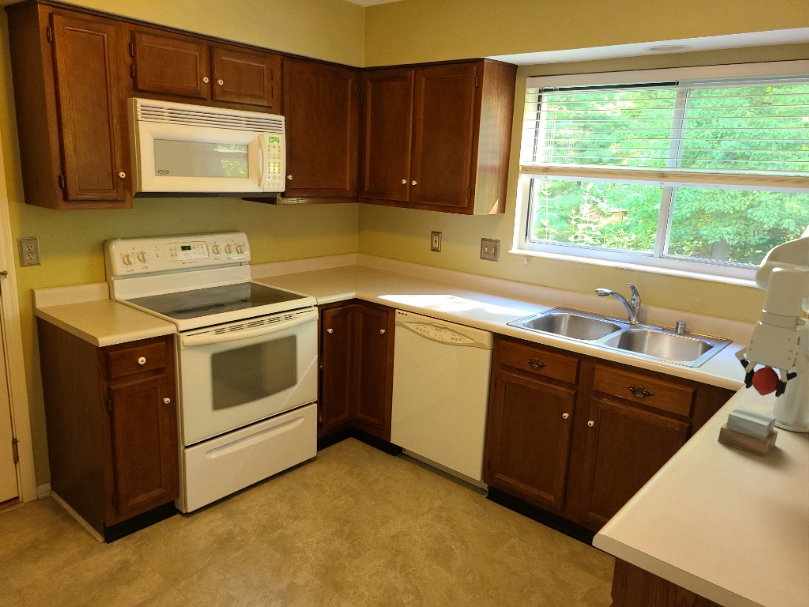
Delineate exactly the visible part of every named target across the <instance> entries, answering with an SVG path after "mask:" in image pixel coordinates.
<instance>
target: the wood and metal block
mask: <svg viewBox="0 0 809 607" xmlns="http://www.w3.org/2000/svg"><path fill="white" fill-rule="evenodd" d="M775 420H776V417H774V416H771V415H768V414H765V413H763V412H761V411H757V410H754V409H752V408H748V407H745V406H741V405H739V406H738V407H736V408H735V409H733V410H732V411H731V412H729V413H728V417H727V422H726V423H724V424H723V425H721V427H720V430H719V433H718V438H717V439H718V440H717V442H719V441H721V442H720V443H722V442H724V443H723V444H725V443H726V444H725V445H728V444H729V445H728V446H730V445H732V446H731V447H733V446H735V447H734V448H736V447H738V448H737V449H739V448H740V450H742V449H743V450H742V451H745V452H748V453H751V454H754V455H757V456H759V457H761V458H763V457H764V456H766V454H768V453H769V451H771V450H772V448H774V447H775V445H776V441H777V438H778V434H779V433H778V432H779V431H778V430H775V428H774V427H775V425H774V424H775Z"/></svg>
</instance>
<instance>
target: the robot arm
mask: <svg viewBox="0 0 809 607" xmlns="http://www.w3.org/2000/svg"><path fill="white" fill-rule="evenodd" d="M754 277H755V278H754V279H755V280H754V281H755V284H756V286H757V288H759V289H760V290H763V291H765V292H766V293H765V298H764V303H763V306H762V311H761V316H760V320H757V321H756V323H755V325H754V327H753V329H752V333H751V336H750V338H749V341H748V344H747V346H745V347H743V348H741V349H740V350H738V351H737V352H736V351H735V352H734V356H735V358H736V359H737V360H738V362H739V363H740V364H741V366H742V367H743V370H744V372H745V375H744V376H745V377H744V382H743V383H744V384H745V387H744V388H745V389H750V388H752V387H753V385H752V382H751V379H752V376H753V374H754V373H755V372H756V371H755V369H754V368H756V366H757V365H761V366H764V367H765V366H768V367H772V369H777V370H778V371H779V381H778V385H777V389H776V391H775V393H774V398H773V403H772V408H771V411H767V412H765V413H764V414H768V415H771V416H774V417H776V420H775V424H774V427H778V428H780V429H783V430H786V431H791V432H796V433H809V318H801V310H803V312H805V313H807V314H809V224H808V225H807V227H806V228H805V230H804V231H803V234H801V236H800V237H799V238H796V239H792V240H790V241H787V242H784V243H782V244H778V245H777V246H775V247H773V248H772V249H770V250H769V251H768V252H767V254H765V256H764V258H763V259H762V261H761V262H760V264H759V265H758V267H757V270H756V273H755V276H754Z"/></svg>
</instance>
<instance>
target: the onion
mask: <svg viewBox="0 0 809 607" xmlns="http://www.w3.org/2000/svg"><path fill="white" fill-rule="evenodd" d="M754 372H755V373H754V374H753V376H752V379H751V382H752V387H753V388H754V389H755V391H756V392H757V393H758V395H760V396H763V397H764V396H766V395H769V394H772V393H774V392H776V389H777V385H778V381H779V377H780V375H779V374H778V373H777V372H776V370H775V369H774V368H772V367H768V366H765V365H764V367H761V368H759V369H757V370H756V371H754Z"/></svg>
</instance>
